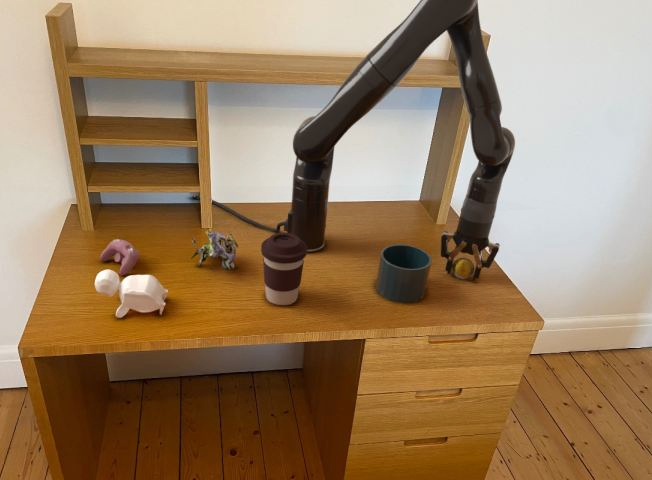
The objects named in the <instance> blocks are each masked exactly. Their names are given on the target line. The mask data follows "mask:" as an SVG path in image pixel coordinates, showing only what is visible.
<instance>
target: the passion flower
mask: <svg viewBox="0 0 652 480" xmlns="http://www.w3.org/2000/svg"><path fill="white" fill-rule="evenodd" d="M205 235H206V236H207V238H208V240H209V243H208V244H207V243H206V242H205V243H203V245H202V246H201V248H198V246H197V245H196V238H195V237H193V238H191V243H192V244H193V246H194V247H195V248H196V250H195V252H194V253H193V254H192V255H191V256H190V259H194V258H195V257H196V256H198V255H199V254H200V256H199V257H200V258H199V264H198V267H200V266H201V265H202V263H204V262H206V261H207V258H214V259H215V258H219V257H220V258H221V261H222V262H221V264H222V268H223V269H224V270H227V271H229V272H230V271H231V269H232V270H234V269H235V264H234V262H235V261H236V254H237V253H236V252H237V248H238V247H239V246H238V242H237V241H236V240H235V239H234V237H233V234H232V233H228V234H226V235H224V234H223V233H221V231H218V232H215V231H213V229H212V227H211V228H209V231H208V230H205Z"/></svg>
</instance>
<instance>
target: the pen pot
mask: <svg viewBox="0 0 652 480" xmlns="http://www.w3.org/2000/svg"><path fill="white" fill-rule="evenodd" d="M431 266H432V257H431V255H430V254H429V253H428V252H427V251H425V250H424V249H422V248H419V247H417V246H413V245H411V244H402V243H401V244H400V243H399V244H391V245H388V246H386V247H384V248H383V249H382V251H381V252H380V256H379V262H378V267H377V268H378V269H377V275H376V282H375V288H376V291H377V293H378V294H379V295H380V296H382V297H383V298H385V299H387V300H388V301H392V302H395V303H401V304H412V303H416V302H418V301H421V300H422V299H423V298H424V296H425V293H426V289H427V286H428V280H429V276H430V271H431Z"/></svg>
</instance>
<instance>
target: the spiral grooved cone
mask: <svg viewBox="0 0 652 480" xmlns="http://www.w3.org/2000/svg"><path fill="white" fill-rule="evenodd" d="M474 272H475V265H474V263H473V261H472V260H471V259H469V258H468V257H460V258H459V257H458V258H457V259H456V260H454V261H453V265H452V269H451V273H452V274H453V276H454V277H455V278H456V279H459V280H468V279H470V278H471V277H473V275H474Z"/></svg>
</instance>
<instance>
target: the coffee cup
mask: <svg viewBox="0 0 652 480" xmlns="http://www.w3.org/2000/svg"><path fill="white" fill-rule="evenodd" d="M260 245H261V246H260V251H261V255H262V256H263V259H262V263H263V265H262V267H263V282H264V289H265V297H266V300H267V301H268V302H269V303H271V304H273V305H276V306H289V305H292V304H294V303H295V302H296V301H297V299H298V296H299V290H300V286H301V282H302V276H303V270H304V265H305V263H304V262H305V261H304V260H305V258H306V257H307V254H308V252H307V246H306V244H305V243H304V242H303V241H302V240H300V239H299V238H298V237H297V236H296V235H294V234H290V233H287V232H275V233H274V234H272V235H270V236H269V237H268V238H265V239H264V240H263V241H262V243H261V244H260Z"/></svg>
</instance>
